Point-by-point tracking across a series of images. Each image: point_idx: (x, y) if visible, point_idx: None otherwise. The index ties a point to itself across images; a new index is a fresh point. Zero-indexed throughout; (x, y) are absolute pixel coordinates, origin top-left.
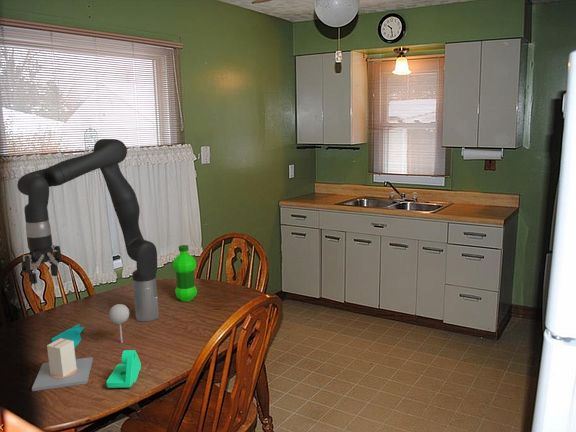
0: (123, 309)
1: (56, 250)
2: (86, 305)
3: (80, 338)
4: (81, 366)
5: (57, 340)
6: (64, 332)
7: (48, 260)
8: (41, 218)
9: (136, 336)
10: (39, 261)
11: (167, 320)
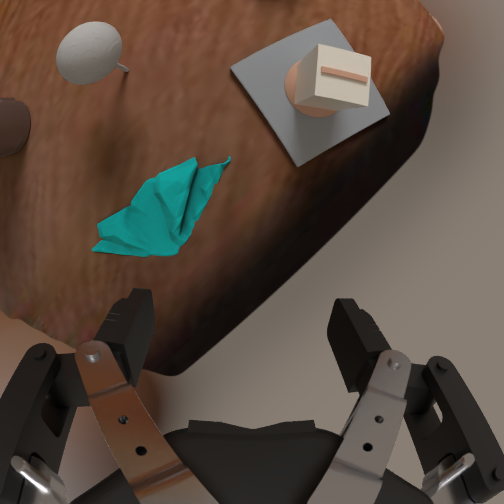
0: (87, 24)
1: (20, 474)
2: (37, 303)
3: (143, 186)
4: (281, 62)
5: (332, 94)
6: (140, 246)
7: (181, 430)
8: None
9: None
10: (372, 441)
11: (15, 75)
